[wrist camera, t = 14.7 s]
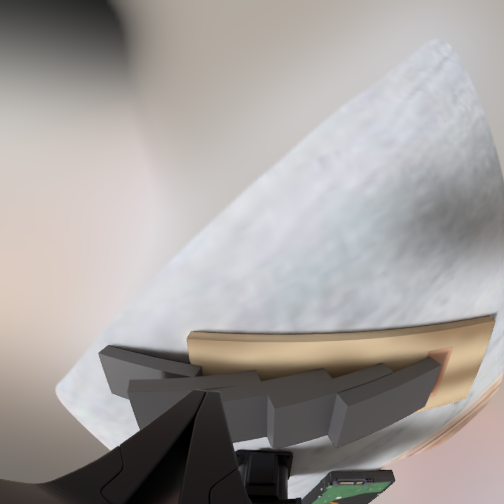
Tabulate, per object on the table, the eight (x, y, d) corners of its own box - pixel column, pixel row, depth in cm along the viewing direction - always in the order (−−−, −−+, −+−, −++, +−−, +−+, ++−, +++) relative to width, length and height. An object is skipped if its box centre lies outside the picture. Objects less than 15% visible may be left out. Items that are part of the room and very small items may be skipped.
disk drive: (345, 507, 29) (392, 467, 26) (346, 519, 27) (397, 481, 23) (288, 507, 30) (328, 468, 26) (288, 520, 27) (330, 485, 23)
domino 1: (194, 377, 20) (98, 353, 22) (202, 419, 21) (111, 393, 23) (201, 366, 21) (107, 345, 23) (208, 408, 22) (120, 385, 24)
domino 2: (261, 381, 19) (127, 392, 17) (259, 424, 20) (141, 434, 18) (255, 370, 21) (129, 379, 18) (254, 412, 22) (142, 422, 19)
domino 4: (393, 372, 18) (274, 408, 16) (379, 414, 20) (272, 450, 17) (382, 362, 20) (267, 394, 18) (370, 404, 21) (266, 436, 19)
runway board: (461, 392, 22) (465, 398, 21) (203, 415, 24) (200, 423, 23) (489, 315, 20) (495, 320, 18) (190, 331, 22) (186, 338, 21)
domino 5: (441, 364, 18) (347, 406, 16) (425, 406, 19) (335, 447, 17) (429, 356, 20) (337, 393, 17) (415, 397, 21) (327, 435, 18)
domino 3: (332, 378, 19) (198, 404, 17) (324, 421, 20) (207, 446, 18) (323, 367, 20) (196, 390, 18) (316, 410, 22) (204, 432, 19)
